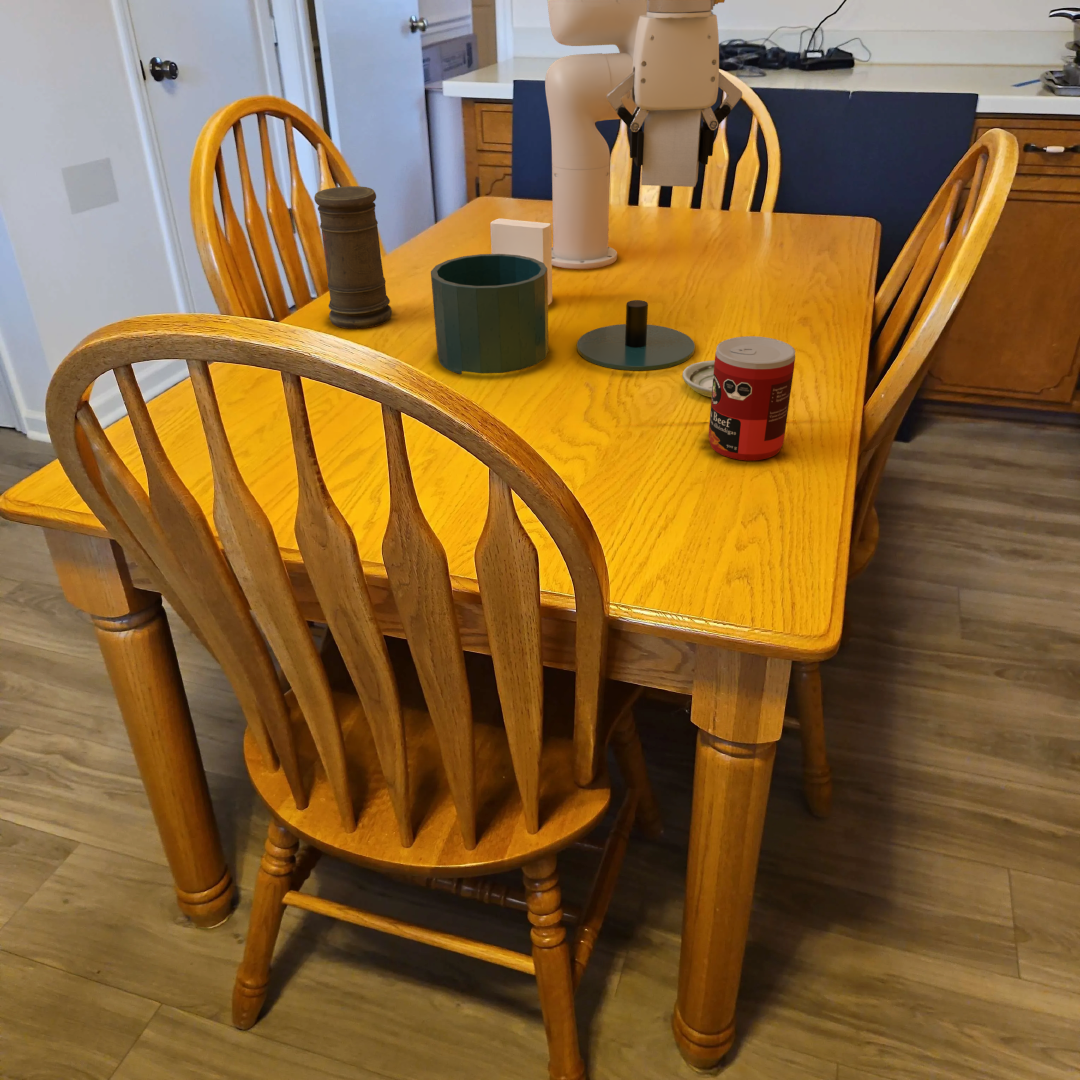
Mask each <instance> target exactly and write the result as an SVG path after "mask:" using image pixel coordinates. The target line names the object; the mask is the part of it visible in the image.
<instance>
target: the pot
mask: <svg viewBox="0 0 1080 1080" xmlns="http://www.w3.org/2000/svg"><path fill="white" fill-rule="evenodd" d="M430 278H431V279H430V280H431V281H430V282H431V291H432V292H431V295H432V304H433V305H432V306H433V317H434V329H435V341H436V352H437V358H438V362H439V364H440V365H441V366H442V367H443V368H444V369H446V370H448V371H450V372H452V373H456V374H459V375H462V374H463V373H462V372H467V373H475V374H501V373H502V374H503V373H510V372H516V371H521V370H524V369H528V368H530V367H533V366H536V365H537V364H539V363H541V362H542V361H543V360H545V359H546V357H547V356H548V353H549V349H550V348H549V305H548V280H547V267H546V266H545V265H544V263H542V262H540V261H538V260H536V259H534V258H529V257H524V256H520V255H509V254H492V253H478V254H471V255H464V256H458V257H456V258H451V259H447V260H445V261H442V262H440V263H439V264H436V265H435V266H434V267H433V268H432V269H431V271H430Z"/></svg>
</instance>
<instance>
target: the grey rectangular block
mask: <svg viewBox="0 0 1080 1080" xmlns="http://www.w3.org/2000/svg"><path fill="white" fill-rule="evenodd" d="M702 120H703V119H702V113H701V110H700V109H685V110H650V112H649V114H648V115H647V117H646V119H645V121H644V122H643V124H644V125H643V132H644V148H643V165H641V183H640V184H641V186H651V187H652V186H654V187H655V186H656V187H684V188H685V187H686V188H688V187H689V188H696V185H697V183H698V177H699V165H700V164H699V163H700V161H699V150H700V136H701V126H702Z"/></svg>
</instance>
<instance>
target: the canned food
mask: <svg viewBox="0 0 1080 1080" xmlns="http://www.w3.org/2000/svg"><path fill="white" fill-rule="evenodd" d="M714 360H715V362H714V374H713V386H712V398H710V399H711V401H710V412H709V422H708V423H709V425H708V426H709V427H708V442H709V445H710V447H711V449H712V450H713V451H715V452H716V453H718V454H719V455H721V456H723V457H725V458H729V459H733V460H738V461H748V462H749V461H763V460H768V459H770V458H772V457H774V456H776V455H778V453H779V452H780V451H781V449H782V447H783V445H784V443H785V442H784V441H785V434H786V427H787V420H788V413H789V406H790V399H791V392H792V387H793V379H794V372H795V362H796V350H795V348H794V347H793V346H792V345H791V344H789V343H787V342H785V341H782V340H779V339H776V338H770V337H765V336H755V335H754V336H751V335H750V336H747V335H746V336H736V337H731V338H728V339H725V340H722V341H720V342H719V343H718V344H717V346H716V350H715V355H714Z"/></svg>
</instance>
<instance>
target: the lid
mask: <svg viewBox="0 0 1080 1080" xmlns="http://www.w3.org/2000/svg"><path fill="white" fill-rule="evenodd" d="M625 304H626V305H625V323H623V324H622V323H621V324H620V323H619V324H613V325H606V326H602V327H599V328H595V329H591V330H590V331H588V332H586V333H584V334H583V335H581V336H580V337H579V339H577V342H576V350H577V353H578V355H579V356H580V357H581V358H583V359H584V360H586V361H587V362H589V363H591V364H594V365H597V366H600V367H603V368H608V369H615V370H621V371H638V372H639V371H654V370H662V369H668V368H671V367H675V366H678V365H680V364H683V363H685V362H686V361H688V360H690V359H691V358H692V357H693V355H694V354H695V350H696V349H695V348H696V345H695V341H694V340H693V338H691V337H690V336H689V335H687V334H685V333H684V332H682V331H679V330H677V329H673V328H670V327H667V326H663V325H662V326H661V325H655V324H649V323H648V315H649V311H648V310H649V303H648V302H647V301H645V300H641V299H632V300H629V301H627V302H626V303H625Z"/></svg>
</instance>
